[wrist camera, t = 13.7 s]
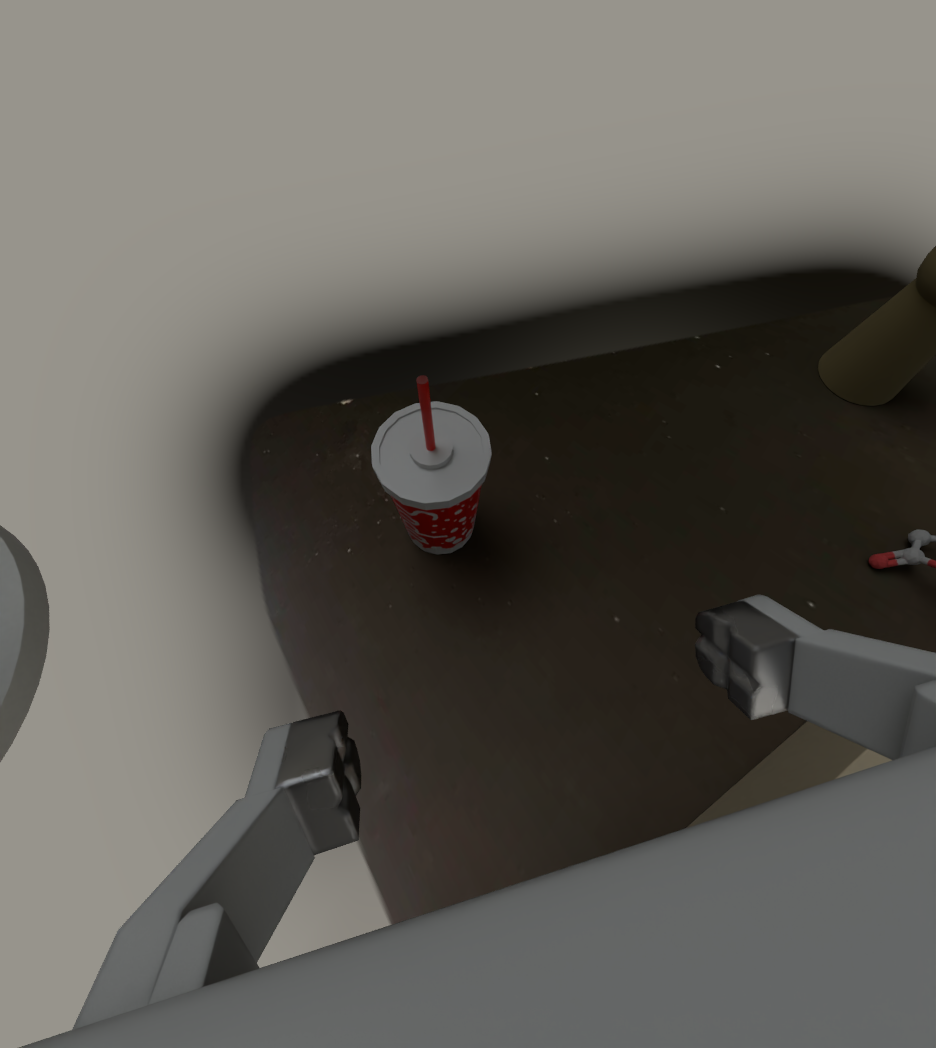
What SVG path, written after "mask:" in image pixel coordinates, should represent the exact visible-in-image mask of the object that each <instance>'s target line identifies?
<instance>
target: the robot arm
mask: <svg viewBox="0 0 936 1048" xmlns="http://www.w3.org/2000/svg"><path fill="white" fill-rule="evenodd" d="M695 628H696V629H697V630H698V631H699V632H700V633H701V636H700V637H699V639H698V641H697V642H696V644H695V651H696V659H697V661H698V664H699V667H700V669H701V670H702V672H703V673H704V675H705V676H706V677H707V678H708V679H709V680H710V681H711V682H712V683H713V684H714V685H716V686H719V687H722V688H724V689H727V693H728V699H729V700H730V701H731V702H732V703H733V704H734V705H735V706H736V707H738V708H739V709H740V710H741V711H742V712H743V713H744V714H745V715H746V716H747V717H748V718H749V719H750V720H753V719H757V718H761V717H764V716H768V715H772V714H775V713H779V712H783V711H786V710H788V712H789V713H791V714H793V715H796V716H798V717H800V718H802V719H804V720H806V721H809V722H811V723H813V724H815V725H817V726H819V727H822V728H824V729H826V730H828V731H830V732H832V733H835V734H837V735H839V736H841V737H843V738H845V739H848V740H850V741H852V742H854V743H856V744H859V745H861V746H863V747H865V748H867V749H869V750H872V751H874V752H876V753H878V754H880V755H882V756H885V757H887V758H889V759H891V760H892V761H889V762H886V763H883V764H880V765H877V766H874V767H871V768H868V769H865V770H862V771H858V772H855V773H852V774H849V775H846V776H843V777H840V778H837V779H834V780H831V781H828V782H825V783H822V784H819V785H816V786H813V787H810V788H807V789H804V790H801V791H798V792H795V793H792V794H788V795H785V796H782V797H779V798H776V799H773V800H770V801H767V802H764V803H761V804H758V805H755V806H752V807H749V808H746V809H743V810H740V811H737V812H734V813H731V814H728V815H725V816H722V817H719V818H715V819H712V820H709V821H706V822H703V823H700V824H697V825H694V826H691V827H688V828H685V829H682V830H679V831H676V832H673V833H670V834H667V835H664V836H661V837H658V838H655V839H652V840H649V841H646V842H643V843H640V844H637V845H633V846H630V847H627V848H624V849H621V850H618V851H615V852H612V853H609V854H606V855H603V856H600V857H597V858H594V859H591V860H588V861H585V862H582V863H579V864H576V865H573V866H570V867H567V868H564V869H561V870H557V871H554V872H551V873H548V874H545V875H542V876H539V877H536V878H533V879H530V880H527V881H524V882H521V883H518V884H515V885H512V886H509V887H506V888H503V889H499V890H496V891H493V892H490V893H487V894H484V895H481V896H478V897H475V898H472V899H469V900H466V901H463V902H460V903H457V904H454V905H451V906H448V907H445V908H442V909H438V910H435V911H432V912H429V913H426V914H423V915H420V916H417V917H414V918H411V919H408V920H405V921H402V922H399V923H396V924H393V925H390V926H387V927H384V928H381V929H378V930H375V931H372V932H369V933H366V934H363V935H360V936H356V937H353V938H350V939H348V940H344V941H341V942H338V943H335V944H332V945H329V946H326V947H323V948H320V949H317V950H314V951H311V952H308V953H305V954H302V955H299V956H296V957H293V958H290V959H287V960H284V961H280V962H277V963H275V964H271V965H268V966H265V967H262V968H259V966H258V965H257V961H258V960H259V958H260V956H261V954H262V952H263V950H264V949H265V947H266V945H267V943H268V941H269V940H270V938H271V936H272V934H273V932H274V930H275V929H276V927H277V925H278V923H279V922H280V920H281V918H282V916H283V914H284V912H285V911H286V909H287V907H288V905H289V904H290V901H291V900H292V898H293V896H294V894H295V893H296V891H297V889H298V887H299V885H300V884H301V882H302V880H303V878H304V876H305V874H306V872H307V871H308V869H309V867H310V866H311V864H312V862H313V860H314V855H316V854H319V853H322V852H325V851H328V850H331V849H334V848H337V847H340V846H343V845H346V844H349V843H352V842H355V841H358V840H359V821H360V806H359V804H358V801H357V798H356V795H357V793H358V792H359V790H360V789H361V768H360V759H359V755H358V751H357V747H356V744H355V742H354V740H352V739H351V738H349V737H347V736H348V722H347V720H346V717H345V715H344V713H343V712H342V711H336V712H332V713H328V714H324V715H320V716H316V717H312V718H308V719H304V720H301V721H296V722H293V723H290V724H286V725H282V726H278V727H274V728H270V729H269V730H268V731H267V732H266V733H265V734H264V737H263V740H262V744H261V747H260V750H259V753H258V756H257V760H256V763H255V766H254V769H253V772H252V776H251V779H250V782H249V785H248V788H247V792H246V795H245V798H242V799H239V800H237V801H236V802H235V803H234V804H233V805H232V806H231V807H230V808H229V809H228V810H227V811H226V813H225V814H224V815H223V816H222V817H221V818H220V819H219V820H218V821H217V823H216V824H215V825H214V826H213V827H212V828H211V829H210V830H209V831H208V833H206V835H205V836H204V837H203V838H202V839H201V840H200V841H199V843H197V844H196V846H195V847H194V848H193V849H192V850H191V851H190V852H189V853H188V854H187V855H186V856H185V858H184V859H183V860H182V861H181V862H180V863H179V864H178V865H177V866H176V867H175V869H174V870H173V871H172V872H171V873H170V874H169V875H168V876H167V877H166V878H165V879H164V881H163V882H162V883H161V884H160V885H159V886H158V887H157V888H156V889H155V890H154V892H153V893H152V894H151V895H150V896H149V897H148V898H147V899H146V900H145V901H144V903H143V904H142V905H141V906H140V907H139V908H138V909H137V910H136V911H135V912H134V913H133V915H132V916H131V917H130V918H129V919H128V920H127V921H126V922H125V923H124V925H122V927H121V928H120V929H119V930H118V932H117V934H116V936H115V938H114V940H113V942H112V945H111V947H110V949H109V951H108V953H107V955H106V958H105V960H104V962H103V964H102V966H101V968H100V971H99V973H98V975H97V977H96V979H95V981H94V984H93V986H92V988H91V990H90V992H89V994H88V997H87V999H86V1001H85V1003H84V1006H83V1007H82V1010H81V1012H80V1014H79V1016H78V1018H77V1020H76V1023H75V1025H74V1027H73V1029H72V1030H71V1031H68V1032H65V1033H62V1034H59V1035H56V1036H53V1037H50V1038H47V1039H44V1040H41V1041H38V1042H35V1043H31V1044H28V1045H25V1046H22V1047H19V1048H936V653H933V652H929V651H924V650H920V649H916V648H911V647H907V646H902V645H898V644H894V643H889V642H885V641H880V640H876V639H872V638H867V637H863V636H858V635H854V634H850V633H845V632H841V631H836V630H832V629H829V630H825V631H823V630H822V629H820V628H818V627H817V626H815V625H813V624H812V623H810V622H808V621H807V620H805V619H803V618H802V617H800V616H798V615H797V614H795V613H793V612H792V611H790V610H788V609H787V608H785V607H783V606H782V605H780V604H778V603H777V602H775V601H773V600H772V599H770V598H768V597H767V596H763V595H756V596H752V597H749V598H746V599H742V600H739V601H738V602H734V603H731V604H727V605H723V606H720V607H716V608H713V609H709V610H706V611H702V612H698V614H697V616H696V619H695Z"/></svg>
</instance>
